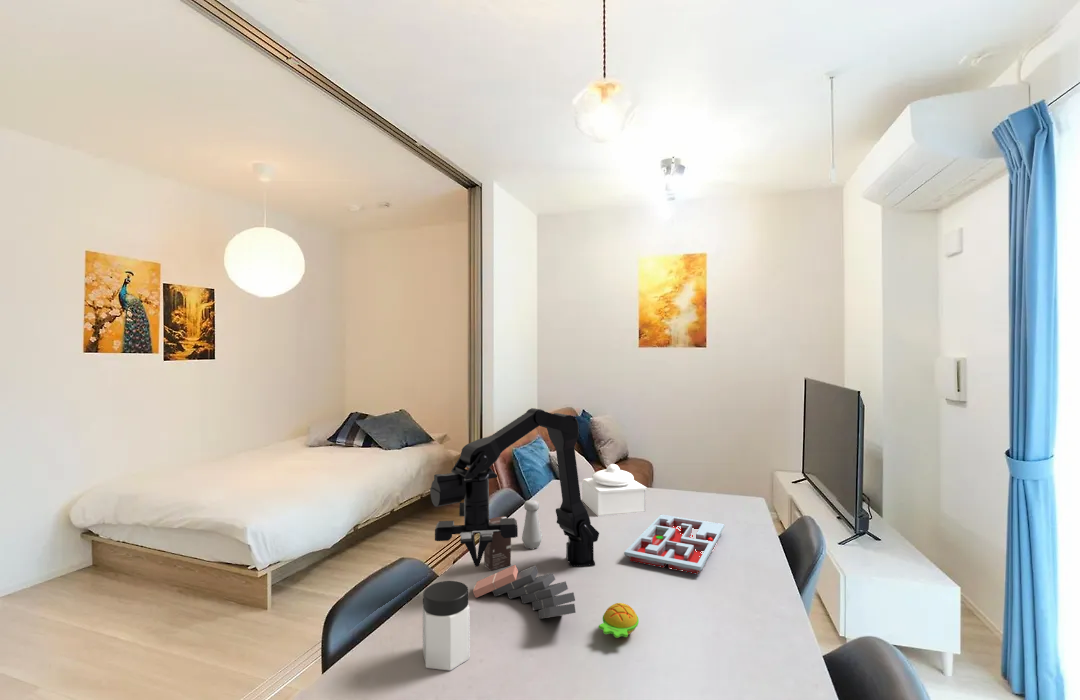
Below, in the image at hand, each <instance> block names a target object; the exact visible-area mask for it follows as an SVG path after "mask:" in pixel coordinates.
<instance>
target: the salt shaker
mask: <svg viewBox="0 0 1080 700" xmlns="http://www.w3.org/2000/svg"><path fill="white" fill-rule="evenodd" d="M523 504H524V505H523V508H524V510H525V516H524V524H523V529H522V536H521V540H522V543H523V544H524V548H525V549H528V548H530V549H529V550H534V549H533V548H536V549H538V548H539V547H540V545H541V543H542V540H543V536H542V529H541V524H540V519H539V513H538V510H539V508H540V503H539V501H538V500H535V499H528V500H526V501H525V502H524V503H523Z"/></svg>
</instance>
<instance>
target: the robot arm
mask: <svg viewBox="0 0 1080 700" xmlns="http://www.w3.org/2000/svg"><path fill="white" fill-rule="evenodd" d="M538 427H541V428H545V429H546V431H547V434H548V438H549V439H550V441H551V443H552V445H553V446H554V449H555V453H556V461H557V467H558V475H559V476H558V477H559V485H560V491H561V498H562V499H561V501H562V502H561V504H560V507H558V508H556V509H555V514H556V524H557V525H558V526H559V527H560V529H561V530H562V531H563V534H564V535H565V536H567V537H568V538H567V539H568V542H566V544H565V545H566V546H565V548H566V549H565V550H566V551H565V552H566V553H565V555H566V560H567V562H569V565H570V567H590V566H591V567H592V566H596V562H595V560H594V557H595V556H594V555H595V554H594V553H595V552H594V543H596V542H598V539H599V535H600V532H599V531H598V530H597V529H596V527H594V526H593V525H592V524H591V519H590V515H589V512H588V509H587V508H586V505H585V504H584V503H583V502H582V496H581V489H580V481H579V475H578V466H577V464H578V463H577V458H576V450H575V448H576V447H575V446H576V443H577V442H578V439H579V422H578V419H577V418H576V417H575V416H573V415H572V414H565V413H559V412H554V413H551V412H547V411H545V410H544V409H541V408H532V407H531V408H529V409H528V410H527V411H526V412H525V413H523V414H522V415H520V416H518V417H517V418H516V419H514V420H512V421H511V422H509V423H507V424H506V425H505V426H504V427H502V428H501V429H499V430H497V431H496V432H494V433H493V434H491V435H488V436H486V437H482V438H479V439H476V440H474V441H471V442H469V443H467V444H465V445H464V446H463V447H462V449H461V452H460V457H459V458H458V459H457V461H456V463H455V464H454V466H453V468H451V471H450V473H443V474H442V473H437V474H434V476H433V477H434V478H433V480H432V483H431V485H430V486H431V487H430V488H429V489H430V490H429V492H430V499H431V502H432V503H431V504H432V505H433V506H434V507H442V506H443V507H444V506H447V505H453V504H457V503H459V509H458V510H459V511H458V512H459V513H458V514H459V517H463V519H464V521H463V522H464V523H463V524H459V525H458V524H456V525H455V520H440V521H438V522H437V523H436V526H435V529H434V541H436V542H445V541H446V542H449V541H450V540H451V539H452V538H453V535H459V536H460V542H459V543H461V545H462V544H464V545H465V547H466V548H467V550H468V552H469V554H470V556H471V560H472V562H473V564H474V567H475V568H479V567H480V564H481V561H482V558H483V556H484V550H485V548H486V546H487V544H488V543H489V542H493V532H501V536H502V537H503V538H511V539H513V538H514V539H515V538H518V532H519V531H518V529H519V528H518V522H517V521H518V520H516V518H515V517H510V518H509V517H507V518H503V519H500V523H499V524H489V519H490V491H489V490H490V484H489V483H490V480H491V479H497V478H498V474H497V473H495V472H494V471H493V469H492V468H491V467H492V466H493V464H494V463H496V462H497V460H498V459H499V457H500V456H501V454H502V453H503V452H504V451H505V450H506V449H508V448H509V447H511V446H512V445H513V444H515V443H517V442H518V441H520V439H522V438H525V436H527V435H528V434H529V433H530V432H531V433H532V431H534V430H535V429H537V428H538ZM467 468H468V469H467ZM462 501H464V502H462ZM475 534H479V541H478V549H477V547H476V539H475Z"/></svg>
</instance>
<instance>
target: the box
mask: <svg viewBox="0 0 1080 700" xmlns="http://www.w3.org/2000/svg"><path fill="white" fill-rule="evenodd" d="M503 518H508V517H507V516H505V515H502V516H497V517H492V518H489V524H499V523H500V519H503ZM511 551H512V538H503V537H502V536H501V532H493V542H489V543H488V544H487V546H486V548H485V550H484V553H483V558H484V560H483V565H484V567H485V566H486V568H487V569H488V570H489V571H494V570H498V569H502V568H505V567H511V566H512V565H511V563H512V561H511V560H512V559H511V557H512V552H511Z"/></svg>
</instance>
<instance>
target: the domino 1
mask: <svg viewBox="0 0 1080 700" xmlns="http://www.w3.org/2000/svg"><path fill="white" fill-rule="evenodd" d="M518 572H519V570H518V568H517V566H516V564H514V565H510V566H508V567H507V568H505V569H503V570H500V571H498V572H496V573H493V574H491V575H488V576H487V577H484V578H481V579H480V580H477V581H476V582H475V583H476V584H474V585H475V586H474V588H473V590H472V593H473V595H474V597H475V598H476V599H477V598H479V597H482V596H483V595H486V594H488V593H490V592H493V590H495V589H497V588H500V587H502V586H504V585H506V584H509V583H511V582H513V581H515V580H516V578H517V574H518Z"/></svg>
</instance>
